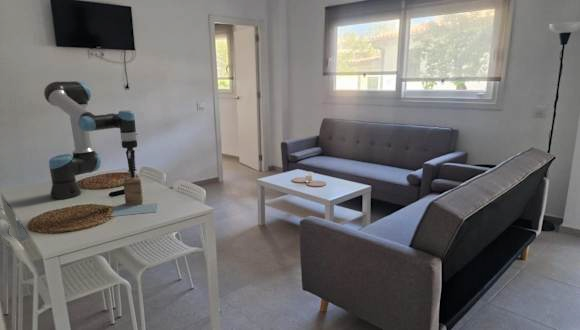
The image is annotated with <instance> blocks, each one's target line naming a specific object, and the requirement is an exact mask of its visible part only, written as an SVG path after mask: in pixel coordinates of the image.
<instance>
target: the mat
mask: <svg viewBox="0 0 580 330" xmlns="http://www.w3.org/2000/svg"><path fill="white" fill-rule="evenodd" d="M111 208H113V213H112V214H111V216H112V217H120V216H131V215H140V214H141V215H143V214H150V213H157V209H158V202H157V203H146V204H145V203H144V204H143V203H142V204H141V205H130V206H126V205H122V206H114V207H111Z"/></svg>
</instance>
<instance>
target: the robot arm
mask: <svg viewBox="0 0 580 330" xmlns="http://www.w3.org/2000/svg"><path fill="white" fill-rule="evenodd" d="M43 96H44V98H45V100H46V101H47V102H48V103H49V104H50V105H51V106H53V107H58V108H59V109H60V110H61V111H63V112H64V113H66V115H68V116H69V120H70V127H71V132H72V138H73V145H74V150H73V151H72V154H70V153H64V154H58V155H55V156H53V157H51V158H50V159H49V161H48V168H49V174H50V177H51V184H52V185H51V187H50V188H51V190H50V199H52V200H66V199H72V198H76V197H78V196H80V195H81V194H82V191H81V188H80V186H79V184H78V182H77V180H76V177H77V176H79V175H84V174H85V175H86V174H91V173H94V172H97V171H98V170H99V168H100V167H101V165H102V164H101V163H102V160H101V157H100V154H99V153H98V152H95V149H94V148H93V147H92V142H91V137H90V132H94V131H100V130H101V131H102V130H108V129H110V130H111V129H119V131H120V140H121V148H123V149H126V151H125V155H126V160H127V166H128V170H127V172H128V173H129V176H130V177H129V178H130V179H137V175H136V171H137V170H138V169H137V168H136V159H135V157H136V156H135V153H136V151H135V149H134V148H137V147H138V140H137V136H138V133H137V131H136V128H137V127H136V118H135V112H134V111H133V110H131V109H130V110H119V111H118V113H113V112H112V113H107V114H98V115H97V114H96V115H95V114H94V113H92V112H90V111H89V110H88V109H87V108H86V107H88V102H89V101H91V98H92V93H91V90H90V88H89V86H88V85H87V84H86V83H85V82H83V81H76V80H75V81H53V82H51V83H48V84H47V85H46V86H45V88H44V92H43ZM130 179H129V180H130Z"/></svg>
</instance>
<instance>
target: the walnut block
mask: <svg viewBox="0 0 580 330" xmlns="http://www.w3.org/2000/svg"><path fill="white" fill-rule="evenodd" d="M122 183H123V191H124V201H125V206H132V205H143V203H144V201H143V190H142V179H141V178H136V179H124V180H123V182H122Z"/></svg>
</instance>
